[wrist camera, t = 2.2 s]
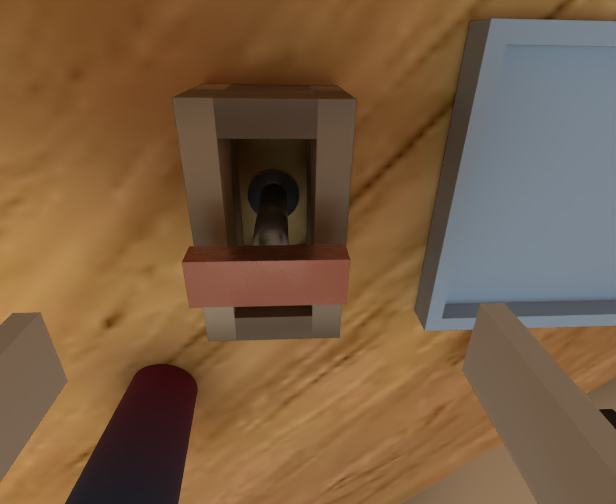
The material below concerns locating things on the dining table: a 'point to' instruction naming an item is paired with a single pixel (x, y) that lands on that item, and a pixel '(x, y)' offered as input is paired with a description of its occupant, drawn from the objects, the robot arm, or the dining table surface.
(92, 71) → the dining table surface
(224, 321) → the brown hollow block
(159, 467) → the cup
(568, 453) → the robot arm
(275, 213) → the mallet
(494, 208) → the tray
